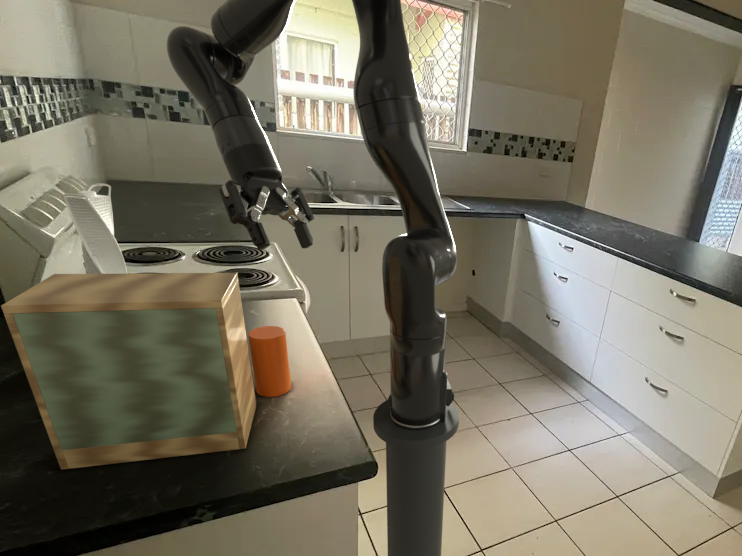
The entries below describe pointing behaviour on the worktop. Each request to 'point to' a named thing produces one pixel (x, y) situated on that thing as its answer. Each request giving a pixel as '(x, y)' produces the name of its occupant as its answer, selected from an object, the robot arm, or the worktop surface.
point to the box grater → (96, 231)
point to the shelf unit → (136, 364)
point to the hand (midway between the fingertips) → (287, 247)
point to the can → (270, 360)
